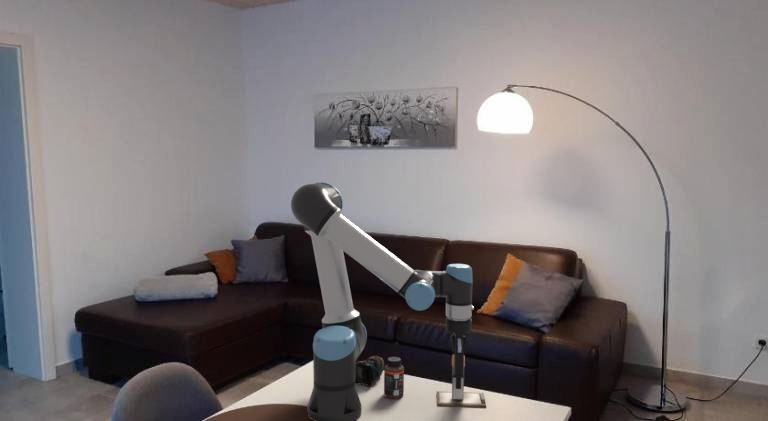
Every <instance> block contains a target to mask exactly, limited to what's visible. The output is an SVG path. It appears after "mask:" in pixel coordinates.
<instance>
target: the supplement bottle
mask: <svg viewBox="0 0 768 421" xmlns="http://www.w3.org/2000/svg"><path fill="white" fill-rule="evenodd" d="M383 372H384V373H383V375H384V376H383V379H384V380H383V384H384V385H383V394H384V397H386V398H389V399H400V398H402V397H403V396H404V392H405V391H404V390H405V389H404V388H405V384H404V383H405V382H404V380H405V367H404V365H402V359H401V358H400V357H397V356H391V357H390V356H389V357H388V358H387V364H386V365H384V370H383Z"/></svg>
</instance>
